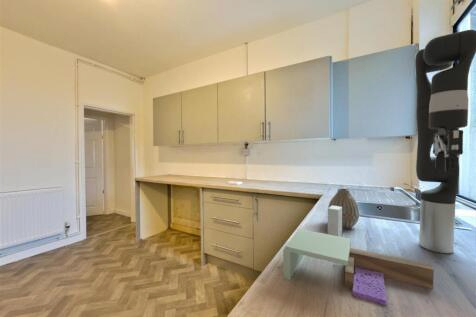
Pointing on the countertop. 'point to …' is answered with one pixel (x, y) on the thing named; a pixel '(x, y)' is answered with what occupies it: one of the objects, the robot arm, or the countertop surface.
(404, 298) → the countertop surface
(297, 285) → the countertop surface
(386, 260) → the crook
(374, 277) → the sponges
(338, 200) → the vase
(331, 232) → the skincare box
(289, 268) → the wall shelf
